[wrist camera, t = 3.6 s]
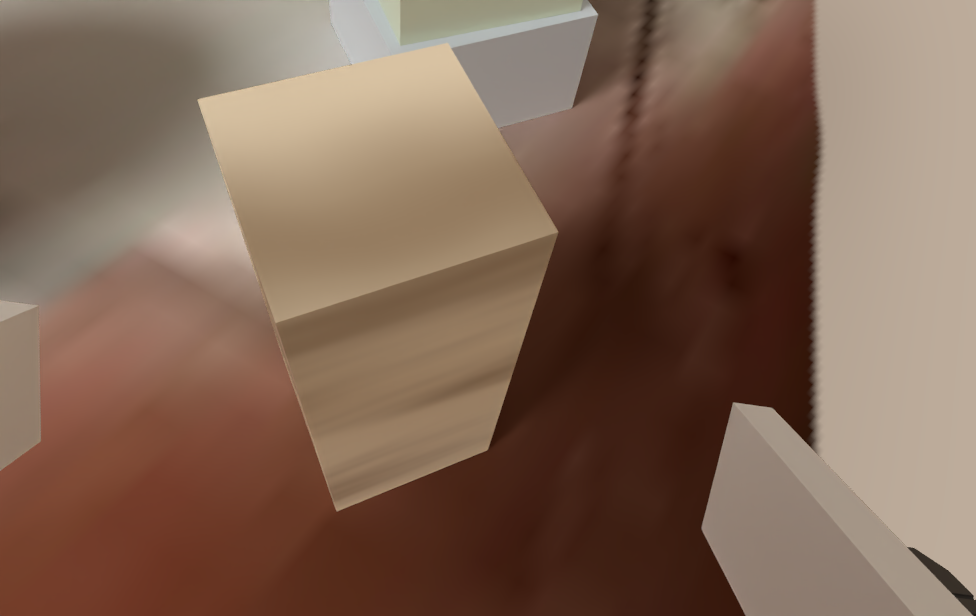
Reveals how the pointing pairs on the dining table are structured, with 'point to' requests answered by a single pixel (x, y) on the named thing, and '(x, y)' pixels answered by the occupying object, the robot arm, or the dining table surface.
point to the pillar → (386, 257)
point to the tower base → (489, 56)
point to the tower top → (464, 15)
